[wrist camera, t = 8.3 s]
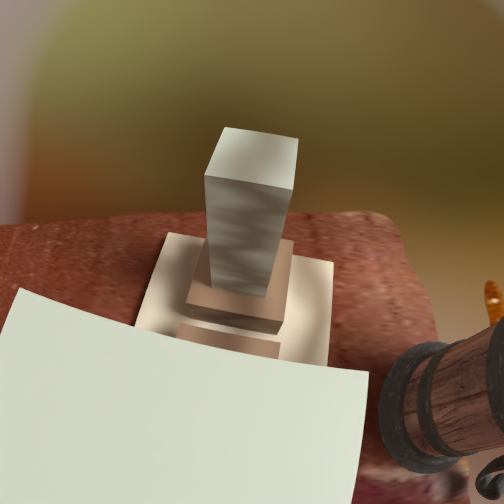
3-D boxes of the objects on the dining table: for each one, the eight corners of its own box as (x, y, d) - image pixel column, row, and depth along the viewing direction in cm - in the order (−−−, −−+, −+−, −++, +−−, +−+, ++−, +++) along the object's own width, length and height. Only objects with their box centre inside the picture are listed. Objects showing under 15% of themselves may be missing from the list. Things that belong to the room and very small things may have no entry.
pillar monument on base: (114, 415, 26) (-11, 374, 10) (170, 239, 38) (143, 99, 22) (311, 456, 25) (423, 472, 9) (329, 268, 37) (394, 140, 21)
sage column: (153, 479, 13) (-31, 550, 1) (172, 399, 15) (19, 288, 4) (245, 500, 12) (291, 665, 1) (261, 419, 15) (369, 371, 3)
